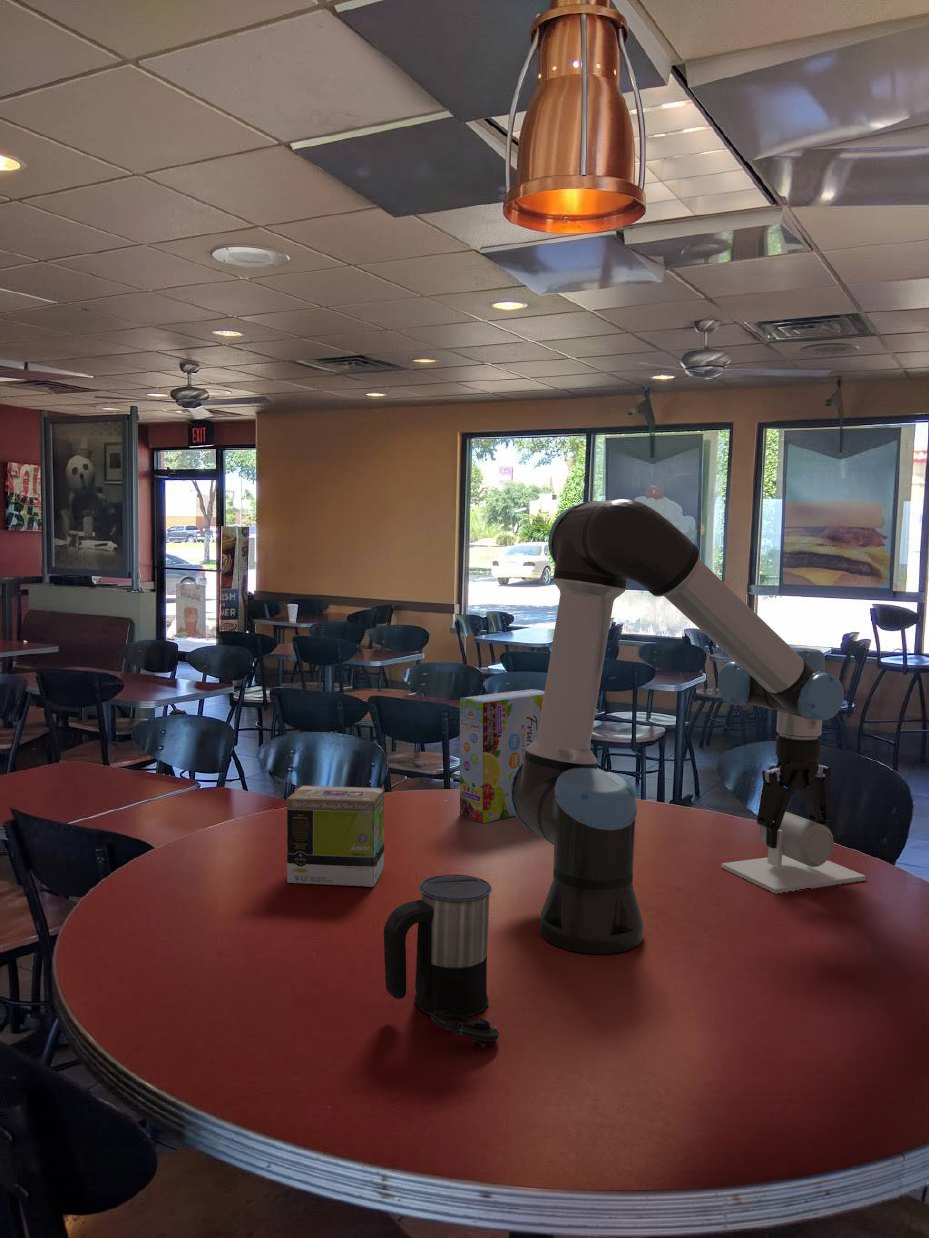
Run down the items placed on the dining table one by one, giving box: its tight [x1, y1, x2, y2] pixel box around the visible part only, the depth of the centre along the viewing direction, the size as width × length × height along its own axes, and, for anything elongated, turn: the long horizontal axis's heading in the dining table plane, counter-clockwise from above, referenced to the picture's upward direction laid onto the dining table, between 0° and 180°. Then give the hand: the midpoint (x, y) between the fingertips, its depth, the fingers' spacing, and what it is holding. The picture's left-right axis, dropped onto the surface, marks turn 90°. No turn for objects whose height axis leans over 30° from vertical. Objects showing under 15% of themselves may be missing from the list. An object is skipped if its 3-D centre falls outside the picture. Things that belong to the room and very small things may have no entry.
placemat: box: [721, 855, 866, 895], centre depth 169 cm, size 20×14×1 cm
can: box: [759, 810, 835, 867], centre depth 168 cm, size 8×8×12 cm
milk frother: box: [383, 874, 500, 1046], centre depth 113 cm, size 14×16×15 cm
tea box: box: [286, 785, 385, 888], centre depth 161 cm, size 15×10×15 cm
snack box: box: [459, 689, 545, 824], centre depth 204 cm, size 22×9×26 cm, turn 130°
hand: (792, 862), depth 168 cm, fingers closed on can, 7 cm apart
